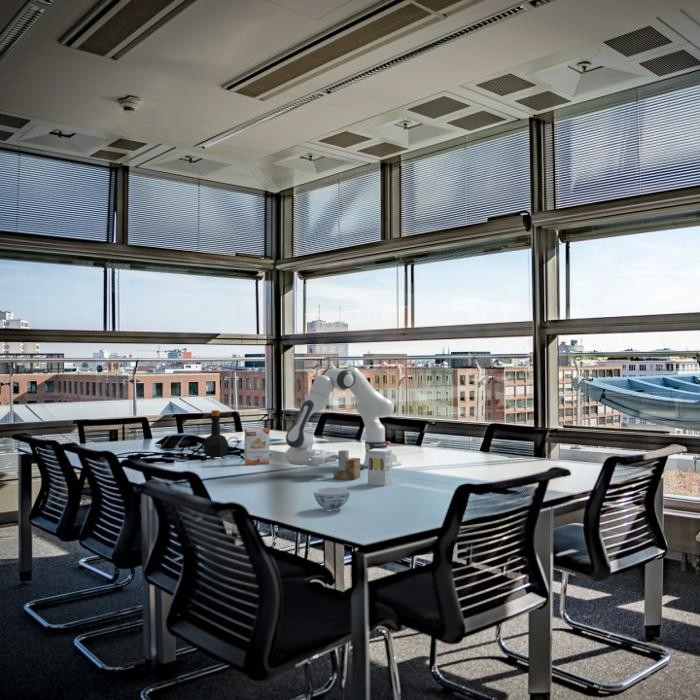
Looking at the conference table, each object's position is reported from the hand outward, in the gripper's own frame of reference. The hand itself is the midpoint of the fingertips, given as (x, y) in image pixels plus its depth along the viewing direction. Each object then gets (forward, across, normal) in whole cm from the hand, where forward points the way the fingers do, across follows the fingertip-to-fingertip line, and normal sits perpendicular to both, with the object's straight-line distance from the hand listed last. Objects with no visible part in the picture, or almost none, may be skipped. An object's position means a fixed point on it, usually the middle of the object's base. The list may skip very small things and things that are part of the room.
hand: (338, 458), depth 370 cm
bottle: (-105, +45, +10) cm, 115 cm away
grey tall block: (+3, 0, +10) cm, 10 cm away
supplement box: (+27, -10, +10) cm, 30 cm away
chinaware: (+29, -73, +10) cm, 80 cm away
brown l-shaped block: (+5, 0, +10) cm, 11 cm away
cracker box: (-65, +28, +10) cm, 72 cm away
